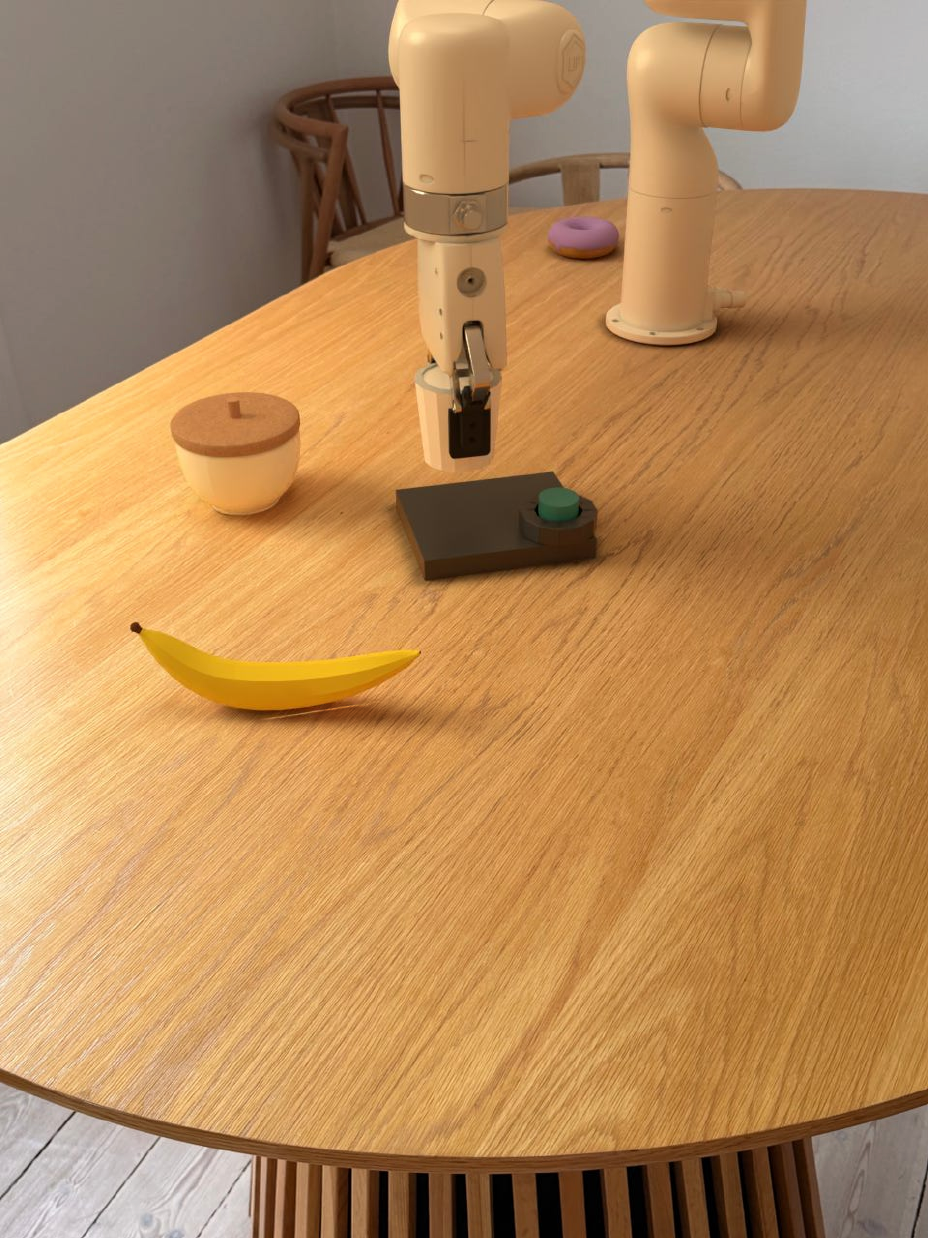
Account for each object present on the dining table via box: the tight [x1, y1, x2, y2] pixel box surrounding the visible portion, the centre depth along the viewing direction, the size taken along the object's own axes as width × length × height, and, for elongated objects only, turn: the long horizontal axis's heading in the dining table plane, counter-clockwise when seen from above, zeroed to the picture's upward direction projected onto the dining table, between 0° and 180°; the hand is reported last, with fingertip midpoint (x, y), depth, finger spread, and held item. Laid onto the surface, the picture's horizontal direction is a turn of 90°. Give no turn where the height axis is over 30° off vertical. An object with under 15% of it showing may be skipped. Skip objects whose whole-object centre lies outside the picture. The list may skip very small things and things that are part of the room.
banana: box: [129, 621, 422, 711], centre depth 80 cm, size 3×19×6 cm, turn 86°
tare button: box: [538, 487, 580, 522], centre depth 97 cm, size 3×3×2 cm
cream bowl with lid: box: [170, 391, 301, 516], centre depth 103 cm, size 11×11×9 cm
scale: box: [395, 470, 599, 582], centre depth 100 cm, size 15×12×4 cm
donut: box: [547, 215, 620, 260], centre depth 162 cm, size 10×9×5 cm
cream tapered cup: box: [413, 361, 503, 474], centre depth 96 cm, size 7×7×7 cm
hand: (458, 432), depth 97 cm, fingers closed on cream tapered cup, 6 cm apart
